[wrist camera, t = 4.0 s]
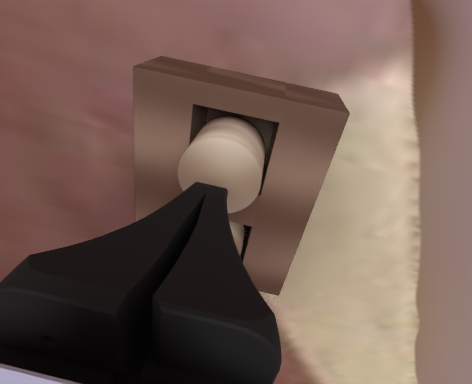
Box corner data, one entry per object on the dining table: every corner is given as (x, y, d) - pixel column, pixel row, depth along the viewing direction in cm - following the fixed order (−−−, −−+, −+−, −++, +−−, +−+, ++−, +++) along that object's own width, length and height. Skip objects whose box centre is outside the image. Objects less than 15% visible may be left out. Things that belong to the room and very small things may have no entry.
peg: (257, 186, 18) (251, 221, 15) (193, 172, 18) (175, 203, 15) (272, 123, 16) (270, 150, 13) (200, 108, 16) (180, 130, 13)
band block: (279, 257, 25) (278, 295, 22) (155, 228, 26) (136, 262, 22) (337, 93, 18) (349, 113, 14) (161, 56, 18) (133, 66, 15)
